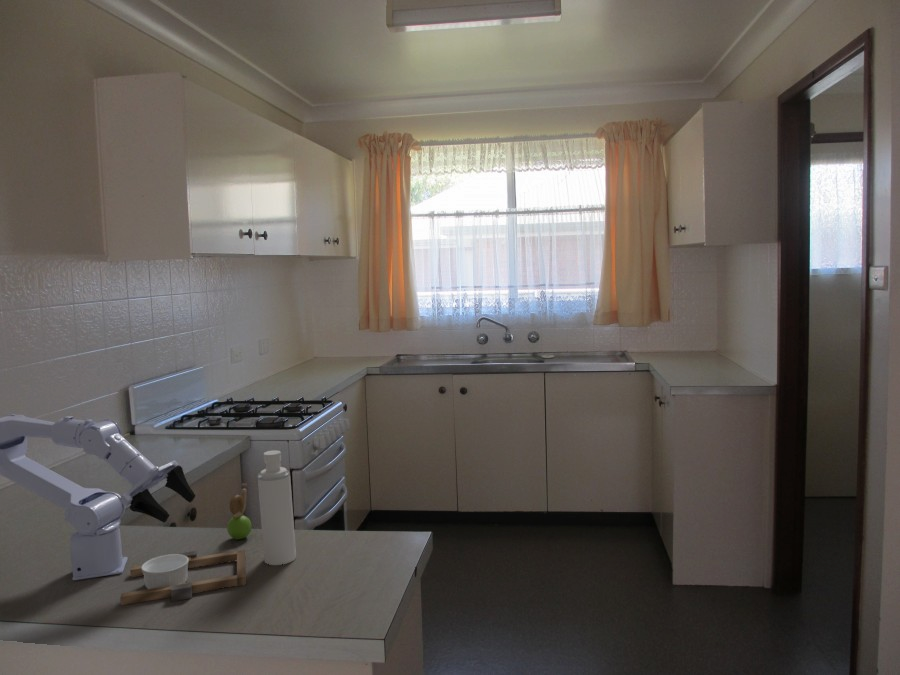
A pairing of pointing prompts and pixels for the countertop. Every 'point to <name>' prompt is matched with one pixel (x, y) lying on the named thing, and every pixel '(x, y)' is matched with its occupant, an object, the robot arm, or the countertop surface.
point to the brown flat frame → (188, 589)
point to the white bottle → (276, 511)
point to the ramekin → (165, 570)
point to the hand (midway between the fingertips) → (180, 508)
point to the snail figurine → (239, 517)
